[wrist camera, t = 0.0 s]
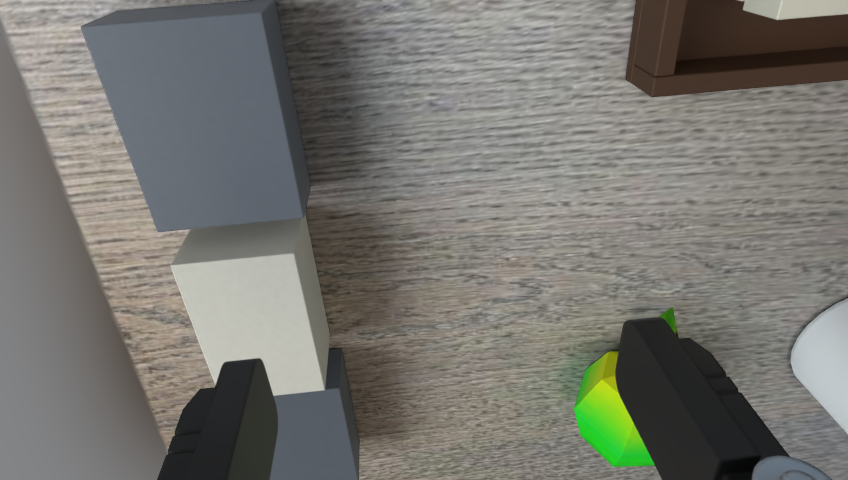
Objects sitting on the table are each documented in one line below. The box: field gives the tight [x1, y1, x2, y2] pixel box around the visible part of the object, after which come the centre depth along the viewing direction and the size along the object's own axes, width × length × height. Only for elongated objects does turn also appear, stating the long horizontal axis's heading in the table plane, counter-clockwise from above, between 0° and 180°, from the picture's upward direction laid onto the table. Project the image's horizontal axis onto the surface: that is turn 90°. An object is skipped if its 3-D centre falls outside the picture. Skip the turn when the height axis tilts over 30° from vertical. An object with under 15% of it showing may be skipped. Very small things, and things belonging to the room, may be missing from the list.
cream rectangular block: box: [170, 214, 330, 396], centre depth 26 cm, size 8×5×4 cm, turn 3°
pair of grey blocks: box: [81, 0, 360, 480], centre depth 26 cm, size 26×6×3 cm, turn 3°
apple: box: [574, 307, 678, 467], centre depth 30 cm, size 7×6×9 cm
